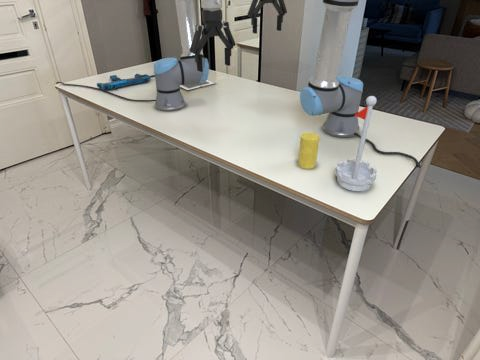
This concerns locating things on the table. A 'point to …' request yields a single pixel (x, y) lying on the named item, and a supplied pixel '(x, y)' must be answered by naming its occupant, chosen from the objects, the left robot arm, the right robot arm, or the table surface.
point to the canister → (308, 150)
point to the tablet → (196, 85)
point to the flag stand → (358, 159)
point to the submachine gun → (123, 81)
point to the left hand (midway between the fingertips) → (214, 68)
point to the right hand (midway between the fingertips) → (267, 31)
